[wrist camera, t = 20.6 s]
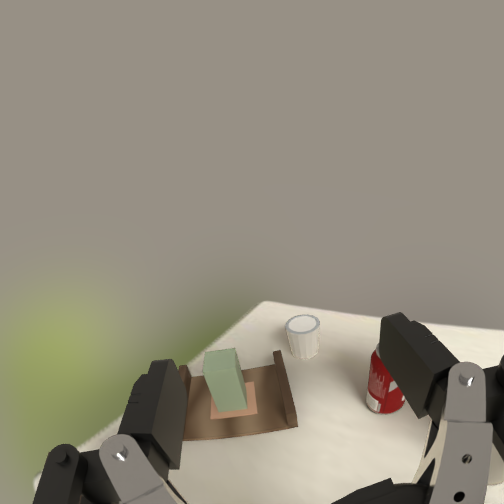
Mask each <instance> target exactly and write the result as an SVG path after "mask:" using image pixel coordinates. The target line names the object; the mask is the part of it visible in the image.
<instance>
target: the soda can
mask: <svg viewBox="0 0 504 504" xmlns="http://www.w3.org/2000/svg"><path fill="white" fill-rule="evenodd" d="M405 399H406V398H405V397H404V395H403V393H402V392H401V390H400V389H399V387H398V386H397V384H396V383H395V381H394V380H393V378H392V377H391V375H390V373H389V372H388V370H387V369H386V367H385V366H384V364H383V363H382V361H381V359H380V355H379V343H378V345H377V347H376V349H375V351H374V352H373V353H372V356H371V364H370V373H369V382H368V390H367V397H366V402H367V405H368V407H369V408H370V409H371V410H372V411H374V412H376V413H378V414H391V413H394V412H396V411H398V410H399V409H400V408H401V407H402V406H403V404H404V402H405Z"/></svg>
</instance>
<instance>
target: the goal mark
mask: <svg viewBox="0 0 504 504" xmlns="http://www.w3.org/2000/svg"><path fill="white" fill-rule="evenodd" d="M245 386H246V392H247V408H248V409H243V410H235V411H226V412H218V409H217V407H216V405H215V402H214V400H213V397H212V396H211V417H210V419H221V418H230V417H238V416H245V415H252V414H258V413H257V404H256V396H255V387H254V381H253V382H247V383H245Z"/></svg>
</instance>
